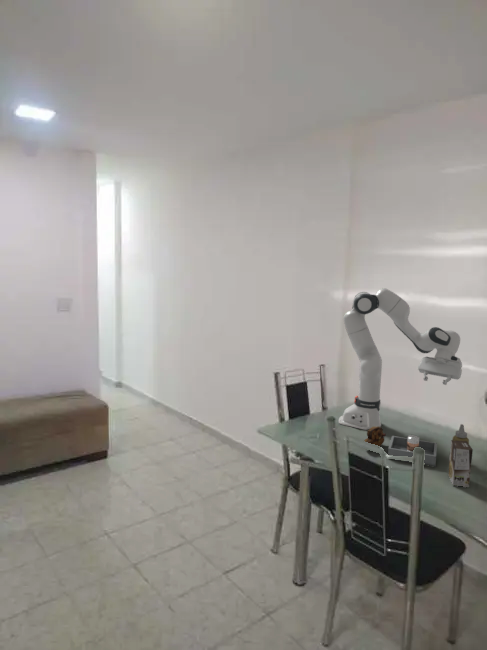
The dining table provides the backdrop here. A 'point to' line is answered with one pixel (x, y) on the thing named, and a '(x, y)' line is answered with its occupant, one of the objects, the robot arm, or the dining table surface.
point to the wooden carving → (375, 436)
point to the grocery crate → (400, 449)
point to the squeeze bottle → (461, 435)
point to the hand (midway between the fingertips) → (434, 382)
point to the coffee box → (460, 463)
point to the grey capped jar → (412, 442)
